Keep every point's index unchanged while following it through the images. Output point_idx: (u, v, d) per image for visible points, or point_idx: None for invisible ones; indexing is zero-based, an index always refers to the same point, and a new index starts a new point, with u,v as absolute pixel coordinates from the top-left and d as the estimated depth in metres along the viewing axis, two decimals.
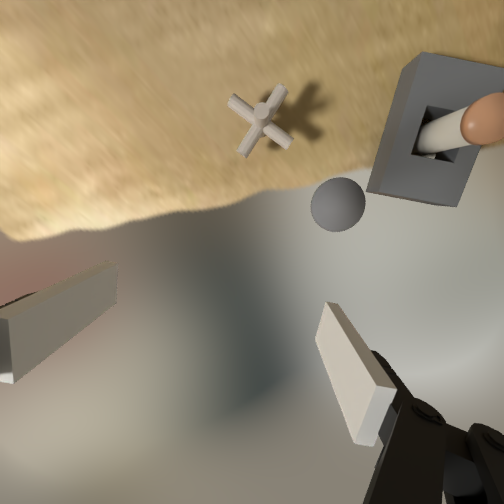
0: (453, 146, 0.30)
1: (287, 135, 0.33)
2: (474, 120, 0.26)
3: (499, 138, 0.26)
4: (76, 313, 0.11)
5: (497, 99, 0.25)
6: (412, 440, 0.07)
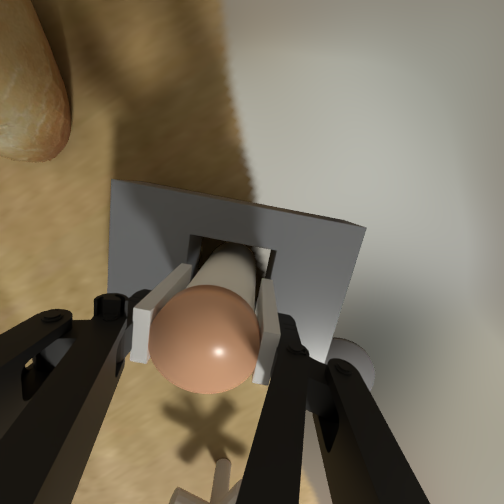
0: None
1: (233, 503, 0.22)
2: (209, 383, 0.11)
3: (248, 324, 0.10)
4: None
5: (162, 346, 0.11)
6: (286, 374, 0.08)
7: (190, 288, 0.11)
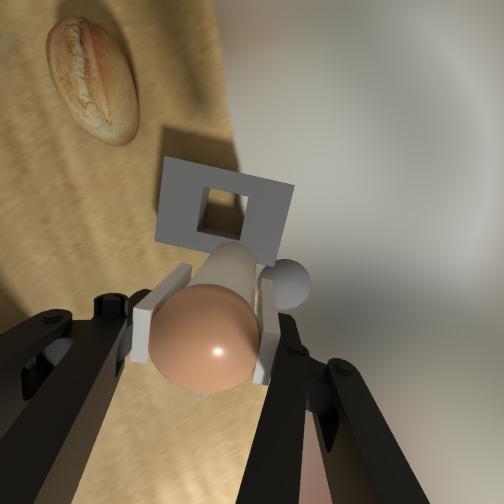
0: None
1: None
2: (208, 382, 0.11)
3: (247, 323, 0.10)
4: None
5: (161, 345, 0.11)
6: (286, 374, 0.08)
7: (189, 287, 0.11)
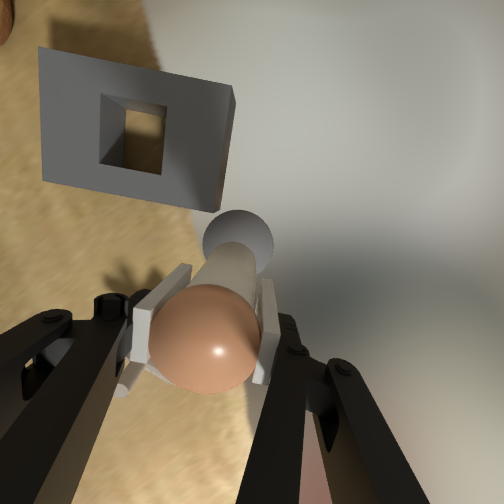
0: None
1: None
2: (209, 383, 0.11)
3: (248, 323, 0.10)
4: None
5: (162, 346, 0.11)
6: (286, 374, 0.08)
7: (190, 287, 0.11)
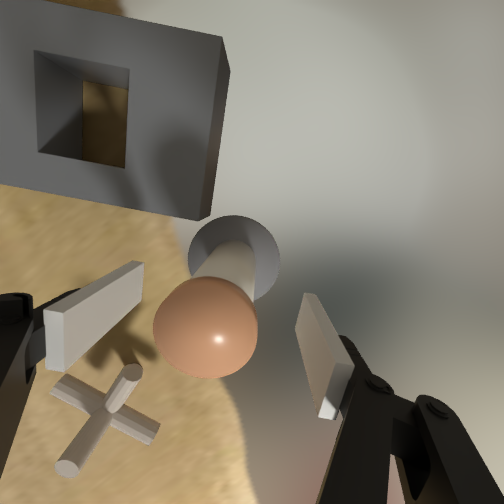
0: None
1: (117, 382, 0.21)
2: (210, 368, 0.12)
3: (246, 312, 0.11)
4: (111, 309, 0.12)
5: (166, 333, 0.11)
6: (365, 411, 0.07)
7: (192, 279, 0.12)
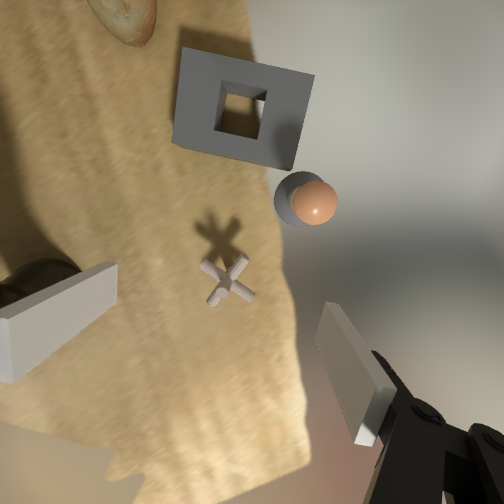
0: None
1: (238, 260, 0.37)
2: (315, 219, 0.28)
3: (334, 193, 0.27)
4: (76, 313, 0.11)
5: (299, 202, 0.28)
6: (412, 440, 0.07)
7: (309, 182, 0.28)
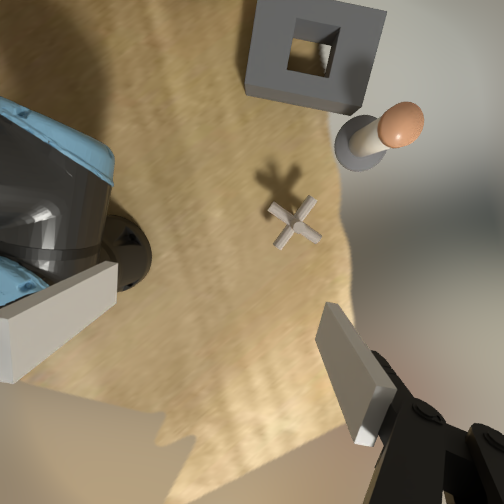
0: None
1: (307, 201, 0.39)
2: (401, 141, 0.30)
3: (421, 113, 0.29)
4: (76, 313, 0.11)
5: (387, 124, 0.29)
6: (412, 440, 0.07)
7: None
